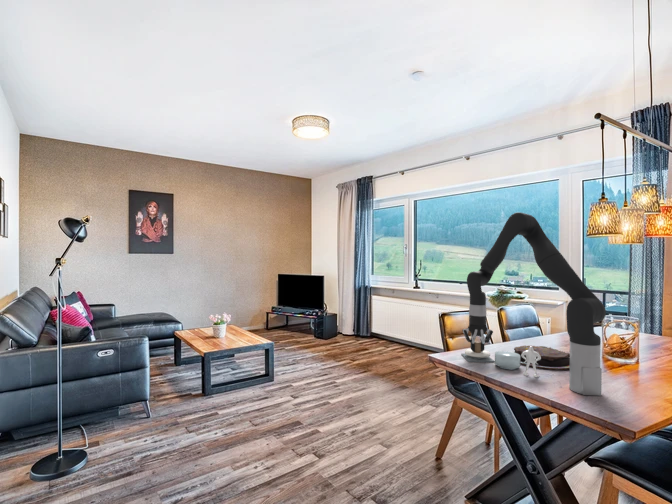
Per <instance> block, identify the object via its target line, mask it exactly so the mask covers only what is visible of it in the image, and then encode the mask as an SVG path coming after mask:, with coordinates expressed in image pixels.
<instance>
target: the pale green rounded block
mask: <svg viewBox="0 0 672 504" xmlns="http://www.w3.org/2000/svg"><path fill="white" fill-rule="evenodd" d="M494 361H495V362H494V364H495V365H496V366H498V368H499V369H503V370H517V369H519V368H520V367H521V364H520V355H519V354H517V353H514V351H509V350H508V351H506V350H505V351H504V350H498V351H495V352H494Z"/></svg>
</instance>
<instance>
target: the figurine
mask: <svg viewBox="0 0 672 504" xmlns="http://www.w3.org/2000/svg"><path fill="white" fill-rule="evenodd" d="M529 346H530V347H529V350H526V351H524V352H523V353H522V354H521V356H522V357H523V358H524V359H525V360H526V361H525V362H527V365H526V366H525V371H523V373H522V375H523V376H526V377H528V376H529V373H528V370H529V368H530V367H529V365H530V363H532V365H533V367H532V368H533V371H534V374H532V375H533V376H532V377H534V378H539V377H540V374H539V373H538V372H537V368H536V366H535V363H536V364H537V362H536V361H538V360H540V359H541V356H540V355H539V354H538V353H537V352H535V351H534V350H533V347H532V346H533V345H529ZM524 355H526V358H527V359H526V358H525V357H524ZM536 357H538V358H537V359H536ZM535 359H536V360H535ZM525 362H524V363H525Z"/></svg>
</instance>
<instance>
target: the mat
mask: <svg viewBox="0 0 672 504" xmlns="http://www.w3.org/2000/svg"><path fill="white" fill-rule="evenodd" d="M461 356H462V357H463V358H464V359H465V360H466V361H467V362H468V363H495V359H493V358H491V356H489V357H485V358H479V357H472V356H468V355H466V354H465V352H463V353H462V352H461Z"/></svg>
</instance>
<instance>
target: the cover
mask: <svg viewBox="0 0 672 504" xmlns="http://www.w3.org/2000/svg"><path fill="white" fill-rule="evenodd" d="M474 344H475V352H473V351H472V350H471V348H468V349H465V350H464V353H465V354H466V355H468V356H472V357H479V358H485V357H491V352H490V351H488V350H485V349H484V351H483V352H481V341H475V342H474Z"/></svg>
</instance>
